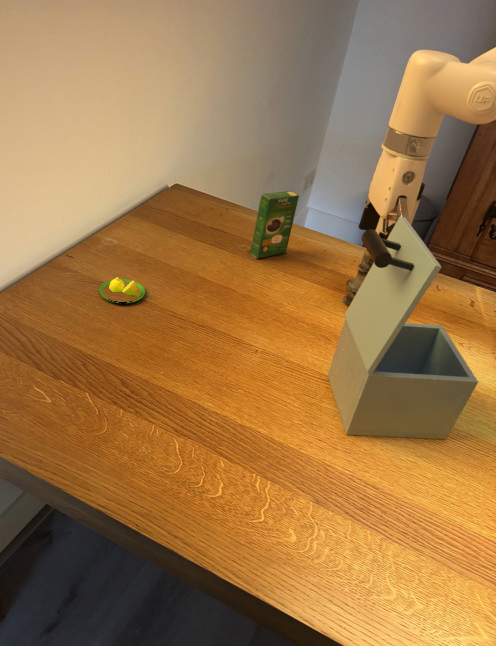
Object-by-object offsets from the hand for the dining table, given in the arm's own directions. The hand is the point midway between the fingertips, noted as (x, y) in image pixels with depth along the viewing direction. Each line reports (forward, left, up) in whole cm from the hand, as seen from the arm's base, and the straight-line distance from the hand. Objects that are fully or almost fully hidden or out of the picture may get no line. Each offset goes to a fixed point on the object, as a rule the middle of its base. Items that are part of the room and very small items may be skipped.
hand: (373, 241), depth 96 cm
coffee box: (+15, -17, -13) cm, 26 cm away
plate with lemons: (+44, +3, -13) cm, 46 cm away
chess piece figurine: (0, 0, -13) cm, 13 cm away
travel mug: (-8, -13, -13) cm, 20 cm away
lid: (+8, +29, +6) cm, 31 cm away
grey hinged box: (+3, +29, -13) cm, 32 cm away
